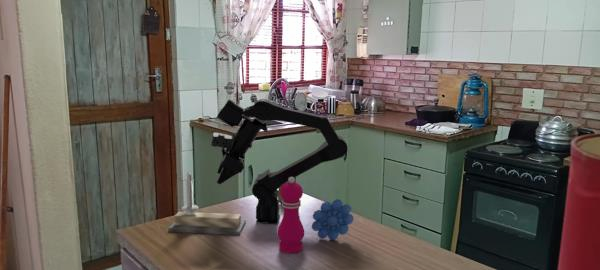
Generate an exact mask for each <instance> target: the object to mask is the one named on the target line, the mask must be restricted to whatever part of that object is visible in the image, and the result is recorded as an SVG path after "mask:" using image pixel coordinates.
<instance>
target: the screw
mask: <svg viewBox="0 0 600 270" xmlns="http://www.w3.org/2000/svg"><path fill="white" fill-rule="evenodd" d="M185 183H186V184H185V185H186V186H185V187H186V190H185V191H186V204H185V205H183V206H182V207H181V210H182V212H186V215H187V216H192V215H195V211H198V210H199V206H198V205H196V204H194V202H193V201H194V197H193V196H194V192H193V188H194V187H193V186H194V185H193V180H192V173H191V172H187V173H186V182H185Z"/></svg>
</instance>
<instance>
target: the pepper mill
mask: <svg viewBox="0 0 600 270" xmlns="http://www.w3.org/2000/svg"><path fill="white" fill-rule="evenodd" d="M303 190H304V189H303V187H302V185H300V184H299V183H298V182H296V183H295V179H294V177H289V179H288V182H287V183H285V184H284V185H283V186H282V187H281V189H280V196H281V197H282V199H283V200H282V204H281V206H282V207H283V215H282V219H281V222H280V224H279V226H278V228H277V233H276V234H277V238H278V239H279V240H280V241H279V242H278V244H279V245H278V250H279V251H280V252H281V253H284V254H297V253H300V252H301V251H302V250H303V239H304V237H305V228H304V224H303V223H302V221H301V218H300V212H299V211H300V207H301V205H302V204H301V203H302V200H300V199H302V197H303V195H304V193H303V192H304V191H303Z"/></svg>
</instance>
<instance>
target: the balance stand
mask: <svg viewBox="0 0 600 270" xmlns="http://www.w3.org/2000/svg"><path fill="white" fill-rule="evenodd" d="M246 221H247V220H246V219H242V216H241V214H240V213H239V214H237V213H220V212H219V213H218V212H217V213H214V212H195V215H192V216H187V215H186V212H185V211H178V212H177V213H175V215H174V222H173V223H172V224H171V225H169V227H168V228H167V229H168V230H167V231H168V232H171V233H172V232H173V233H191V234H192V233H195V234H196V233H197V234H213V235H216V234H217V235H233V236H234V235H235V236H236V235H237V236H238V235H239V236H240V235H241V234H242V231H243V230H244V227H245V225H246V224H247V222H246Z"/></svg>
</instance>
